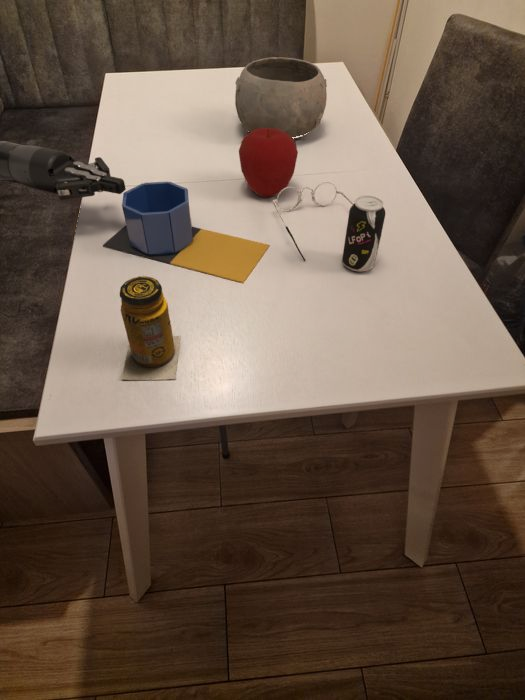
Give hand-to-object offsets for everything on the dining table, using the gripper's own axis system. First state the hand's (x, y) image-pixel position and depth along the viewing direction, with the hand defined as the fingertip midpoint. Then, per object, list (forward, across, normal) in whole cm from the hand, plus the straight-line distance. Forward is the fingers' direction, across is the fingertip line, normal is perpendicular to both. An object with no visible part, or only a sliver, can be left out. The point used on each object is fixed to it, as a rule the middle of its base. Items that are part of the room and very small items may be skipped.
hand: (122, 186), depth 85 cm
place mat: (+12, 0, +9) cm, 15 cm away
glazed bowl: (+7, 0, +9) cm, 11 cm away
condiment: (+21, -27, +9) cm, 35 cm away
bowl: (+9, +56, +10) cm, 57 cm away
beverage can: (+42, +6, +9) cm, 44 cm away
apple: (+18, +25, +10) cm, 32 cm away
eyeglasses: (+33, +15, +9) cm, 37 cm away
